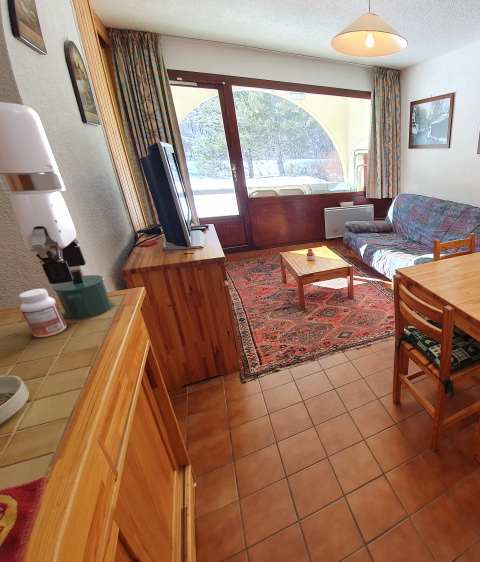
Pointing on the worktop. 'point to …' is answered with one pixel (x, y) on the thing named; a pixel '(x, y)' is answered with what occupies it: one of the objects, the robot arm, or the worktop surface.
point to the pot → (85, 302)
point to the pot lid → (78, 282)
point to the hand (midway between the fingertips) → (69, 273)
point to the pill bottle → (41, 313)
